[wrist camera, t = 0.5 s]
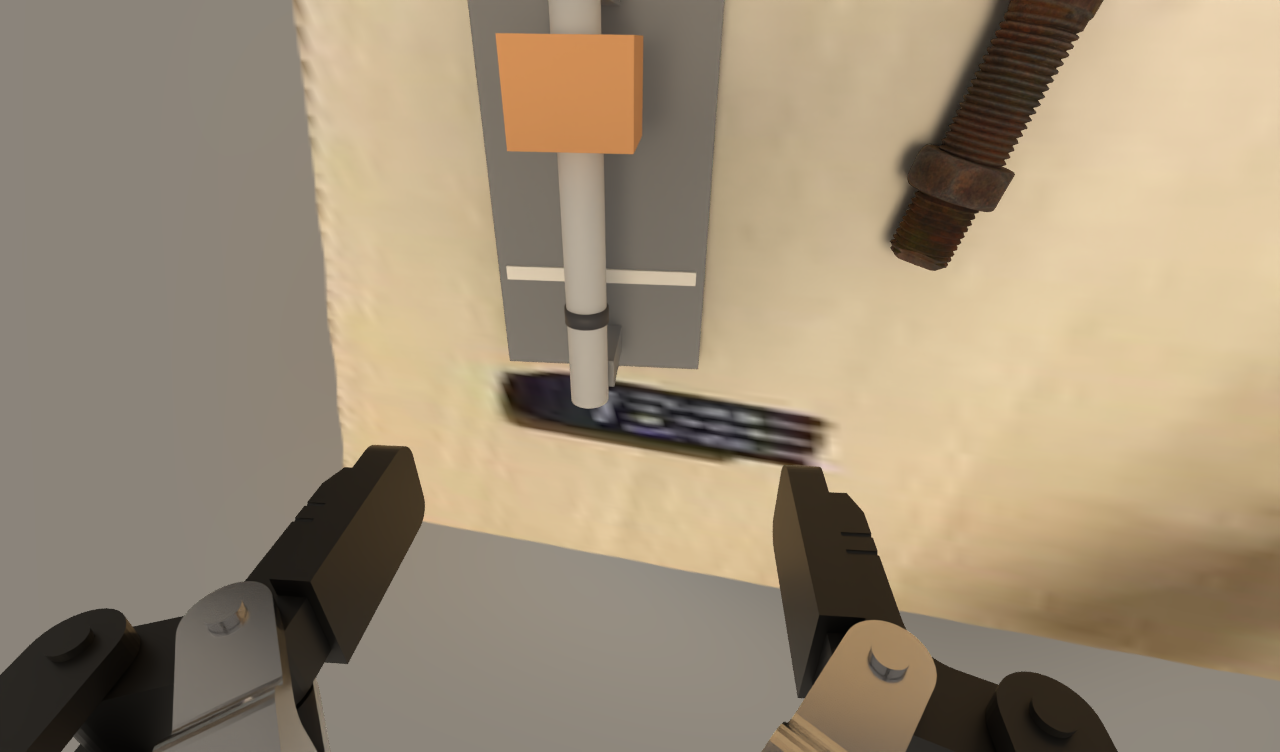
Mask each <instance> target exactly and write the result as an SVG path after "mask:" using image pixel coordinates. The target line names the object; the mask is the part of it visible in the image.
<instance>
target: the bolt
mask: <svg viewBox="0 0 1280 752" xmlns="http://www.w3.org/2000/svg"><path fill="white" fill-rule="evenodd" d="M1102 2H1103V0H1010V4H1009V6H1008V12H1006V13H1005V15H1004V19H1005V21H1003V22H1000V24H999V26H1000V27H1001V30H997V31H996V32H995V35H996V36H997V38H995V39H992V40H991V43H992V45H993V46H992V47H988V48H987V51H988V53H989V54H988V55H984V56H983V59H984V61H985V63H982V64H979V67H980V69H981V71H978V72H975V75H976V77H977V79H973V80H971V83H972V84H973V86H972V87H968V88H967V90H968V92H969V94H967V95H964V96H963V97H964V99H965V102H961V103H959V104H960V106H961V108H962V109H959V110H956V113H957V115H958V116H956V117H953V118H952V119H953V121H954V123H953V124H951V125H949V127H950V129H951V130H950V131H948V132H945V134H946V136H947V137H946V138H944V139H941V140H942V142H943V145H941V146H937V145H925V146H924V147H923V148H922V149H921V150H920V152H919V153H918V155H917V157H916V159H915V161H914V163H913V165H912V167H911V169H910V171H909V173H908V181H909V184H911V185H912V186H913V187H915V188H917V189H919V190H920V191H917V192H915V195H916V197H915V198H912V201H913V203H912V204H909V205H908V206H909V207H910V209H909V210H906V213H907V215H906V216H903V217H902V218H903V220H904V221H903V222H901V223H899V224H900V226H901V227H900V228H898V229H897V230H896V231H897V234H894V235H893V236H894V238H895V239H893V240H891V241H890V242H891V244H892V246H891V247H890V248H891V250H892V251H893V252H894V254H895V255H896V256H897V257H898V258H899V259H902V260H904V261H907V262H909V263H912V264H914V265H917V266H920V267H923V268H925V269H928V270H932V271H936V270H939V269H942V268H945V267H946V266H948V264H947V262H950V261H951V257H952V256H953V255H954V253H953V251H955V250H957V248H958V247H957V245H959V244H960V243H961V241H960V239H962V238H964V237H965V236H964V232H968V228H967V226H970V225H972V224H971V221H970V220H973V219H975V215H974V214H975V213H978V212H979V211H983V212H992V211H993V210H994V209H995V208H996V206H997V204H998V202H999V201H1000V199H1001V197H1002V196H1003V194H1004V192H1005V191H1006V189H1007V187H1008V185H1009V184H1010V182H1011V180H1012V179H1013V177H1014V175H1015V174H1014V173H1013V172H1012V171H1011V170H1009V169H1006V168H1004V167H1002V166H1004V165H1006V163H1005V161H1004V160H1005V159H1009V158H1010V156H1009V154H1008V153H1009V152H1012V151H1014V148H1013V145H1015V144H1018V141H1017V139H1016V138H1019V137H1022V136H1023V135H1022V133H1021V130H1024V129H1027V126H1026V125H1025V123H1027V122H1030V121H1032V120H1031V118H1030V117H1029V115H1032V114H1036V111H1035V110H1034V109H1033V108H1034V107H1038V106H1040V105H1041V104H1040V103H1039V101H1038V100H1040V99H1043V98H1045V96H1044V95H1043V93H1042V92H1044V91H1047V90H1049V88H1048V86H1047V85H1046V84H1049V83H1051V82H1053V81H1054V80H1053V79H1052V78H1051V76H1053V75H1056V74H1058V70H1057V69H1056V68H1057V67H1060V66H1062V65H1063V64H1064V63H1063V62H1062V61H1061V59H1063V58H1066V57H1068V56H1069V54H1068V53H1067V52H1066V51H1067V50H1070V49H1073V47H1074V46H1073V45H1072V44H1071V42H1072V41H1076V40H1078V39H1079V36H1078V35H1076V33H1079V32H1082V31H1083V30H1084V28H1085V27H1086V25H1087V23H1088V21H1089V20H1091V19H1092V18H1093V17H1094V15H1095V14H1096V12H1097V10H1098V9H1099V7H1100V5H1101V3H1102Z"/></svg>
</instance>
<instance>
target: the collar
mask: <svg viewBox="0 0 1280 752" xmlns="http://www.w3.org/2000/svg"><path fill="white" fill-rule="evenodd" d="M495 34H496V44H497V54H498V65H499V75H500V85H501V95H502V105H503V115H504V125H505V135H506V145H507V151H519V152H561V153H603V154H634V152H635V150H636V148H637V146H638V144H639V141H640V139H641V137H642V109H643V36H642V35H603V34H523V33H495Z"/></svg>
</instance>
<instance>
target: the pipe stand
mask: <svg viewBox="0 0 1280 752" xmlns="http://www.w3.org/2000/svg"><path fill="white" fill-rule="evenodd" d="M468 8H469V17H470V25H471V34H472V42H473V51H474V59H475V68H476V76H477V85H478V93H479V102H480V110H481V119H482V127H483V136H484V144H485V153H486V161H487V170H488V178H489V187H490V195H491V204H492V212H493V221H494V229H495V238H496V246H497V255H498V263H499V272H500V280H501V289H502V297H503V306H504V314H505V323H506V331H507V340H508V348H509V357H510V361H524V362H547V363H569V364H570V380H571V398H572V402H573V403H574V404H575V405H576V406H578V407H581V408H597V407H600V406H602V405H604V404H605V403H606V402H607V401H608V398H609V397H608V386H613V387H614V384H615V380H616V375H617V370H618V366H637V367H660V368H682V369H698V363H699V349H700V335H701V321H702V307H703V293H704V279H705V265H706V251H707V237H708V223H709V209H710V195H711V181H712V167H713V153H714V139H715V125H716V111H717V97H718V83H719V69H720V55H721V41H722V27H723V13H724V0H468ZM495 33H523V34H603V35H642V36H643V109H642V137H641V139H640V141H639V144H638V146H637V148H636V150H635V152H634V154H603V153H561V152H519V151H507V145H506V135H505V125H504V115H503V105H502V95H501V85H500V75H499V65H498V54H497V44H496V34H495Z"/></svg>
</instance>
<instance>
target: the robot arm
mask: <svg viewBox="0 0 1280 752" xmlns="http://www.w3.org/2000/svg"><path fill="white" fill-rule="evenodd" d="M424 511H425V501H424V496H423V492H422V488H421V484H420V480H419V477H418V473H417V469H416V465H415V462H414V458H413V454H412V452H411V450H410V449H409V448H408V447H406V446H385V445H371V446H369V447H368V448H367V449H366V450H365V452H364V453H363V454H362V456H361V457H360V458H359V460H358V461H357V462H356V464H355V465H354V466H353V468H347V467H345V468H343V469H342V470H340V471H339V472H338V473H336V474H335V475H333V476H332V477H331V478H329V479H328V480H327V481H325V482H324V483H322V485H321V486H320V487H319V488H318V490H317V491H316V492H315V493H314V495H313V496H312V497H311V498H310V500H309V501H308V504H307V506H304V507H303V508H302V510H301V511H300V512H299V513H298V515H297V516H296V517H295V522H291V524H290V525H289V526H288V528H287V529H286V530H285V531H284V532H283V534H282V535H281V536H280V537H279V539H278V540H277V541H276V543H275V544H274V545H273V546H272V548H271V549H270V550H269V552H268V553H267V554H266V555H265V557H264V558H263V559H262V560H261V561H260V563H259V564H258V565H257V567H256V568H255V569H254V570H253V572H252V573H251V574H250V575H249V577H248V578H247V579H246V580H245V581H244V582H238V583H233V584H230V585H227V586H224V587H222V588H219V589H217V590H215V591H214V592H212V593H210V594H208V595H207V596H205V597H204V598H202V599H201V600H199V601H198V602H197V603H196V604H195V605H193V607H192V608H191V609H189V610H188V612H187V613H186V614H185V615H184V616H182V617H177V618H172V619H168V620H163V621H158V622H153V623H149V624H144V625H139V626H134V627H132V626H131V624H130V623H129V621H128V620H127V619H126V617H125V616H124V615H123V613H121V612H120V611H118V610H115V609H107V608H106V609H96V610H91V611H87V612H84V613H81V614H78V615H76V616H73V617H71V618H69V619H67V620H65V621H63V622H61V623H59V624H57V625H55V626H54V627H52V628H51V629H49V630H48V631H46V632H45V633H44V634H42V635H41V636H40V637H39V638H37V639H36V640H35V641H34V642H33V643H32V644H31V645H29V647H28V648H27V649H26V650H25V651H24V652H23V653H22V654H21V655H20V656H19V657H18V658H17V659H16V660H15V661H14V662H13V663H12V664H11V665H10V666H9V667H8V668H7V669H6V670H5V671H4V672H3V673H2V674H1V675H0V752H61V751H62V750H63V748H64V747H65V746H66V745H67V743H68V742H69V741H70V740H71V739H72V737H74V738H75V739H76V740H77V741H78V742H79V743H80V745H79V747H78V748H77V749H76V750H75V752H331V751H330V746H329V740H328V735H327V729H326V724H325V718H324V713H323V707H322V702H321V696H320V691H319V686H318V682H317V680H316V676H317V674H318V673H319V671H320V669H321V667H322V666H323V664H324V662H327V663H342V664H348V662H349V660H350V659H351V657H352V655H353V653H354V651H355V649H356V647H357V645H358V644H359V641H360V640H361V638H362V636H363V634H364V632H365V630H366V628H367V626H368V625H369V623H370V621H371V619H372V617H373V615H374V613H375V611H376V610H377V608H378V606H379V604H380V602H381V600H382V598H383V596H384V594H385V592H386V591H387V588H388V587H389V585H390V583H391V581H392V579H393V577H394V576H395V574H396V572H397V570H398V568H399V566H400V564H401V562H402V560H403V559H404V557H405V555H406V553H407V551H408V549H409V547H410V545H411V544H412V542H413V540H414V538H415V536H416V534H417V532H418V530H419V528H420V526H421V524H422V521H423V517H424ZM773 546H774V553H775V559H776V565H777V572H778V578H779V584H780V590H781V596H782V603H783V608H784V614H785V621H786V627H787V634H788V640H789V645H790V652H791V658H792V665H793V671H794V677H795V683H796V689H797V695H798V698H805V699H804V700H803V702H802V704H801V705H800V707H799V708H798V710H797V711H796V713H795V715H794V716H793V717H792V719H791V720H790V721H789V722H788V723H786V722H783V723H782V724H781V725H780V726H779V727H778V728H777V730H776V731H775V732H774V734H773V735H772V737H771V738H770V740H769V741H768V743H767V744H766V746H765V748H764V749H763V750H762V752H1118V751H1117V749H1116V748H1115V746H1114V744H1113V742H1112V740H1111V738H1110V736H1109V734H1108V733H1107V731H1106V729H1105V727H1104V725H1103V723H1102V722H1101V720H1100V719H1099V717H1098V715H1097V714H1096V713H1095V711H1094V710H1093V709H1092V708H1091V707H1090V706H1089V704H1088V703H1087V702H1086V701H1085V700H1084V699H1082V698H1081V697H1080V696H1079V695H1078V694H1077V693H1075V692H1074V691H1073V690H1071V689H1070V688H1068V687H1067V686H1065V685H1064V684H1062V683H1060V682H1058V681H1057V680H1054V679H1052V678H1050V677H1047V676H1044V675H1041V674H1038V673H1033V672H1016V673H1013V674H1010V675H1008V676H1006V677H1005V678H1004V679H1003V680H1002V681H1001V682H1000V684H999V685H997V684H994V683H992V682H989V681H986V680H983V679H981V678H978V677H975V676H972V675H969V674H966V673H963V672H961V671H958V670H955V669H953V668H951V667H948V666H946V665H944V664H942V663H941V662H939V661H937V660H936V659H934V658H933V657H931V655H930V653H929V652H928V650H927V649H926V647H925V646H924V645H923V644H922V643H921V642H920V641H919V640H918V639H917V638H916V637H915V636H914V635H912V634H911V633H909V632H908V631H907V630H906V628H905V626H904V624H903V622H902V619H901V616H900V613H899V610H898V607H897V605H896V602H895V599H894V596H893V593H892V591H891V588H890V585H889V582H888V579H887V577H886V574H885V571H884V568H883V565H882V562H881V560H880V557H879V556H878V555H877V548H876V546H875V543H874V540H873V538H871V532H870V529H869V526H868V523H867V520H866V517H865V515H864V512H863V511H862V510H861V509H860V508H859V507H858V505H857V504H856V503H855V502H854V501H853V500H852V499H851V498H850V496H849V495H848V494H847V493H831V492H829V491H828V488H827V484H826V481H825V478H824V474H823V471H822V469H821V468H820V467H812V466H790V465H784V466H783V468H782V471H781V476H780V482H779V488H778V494H777V500H776V506H775V512H774V518H773Z"/></svg>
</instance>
